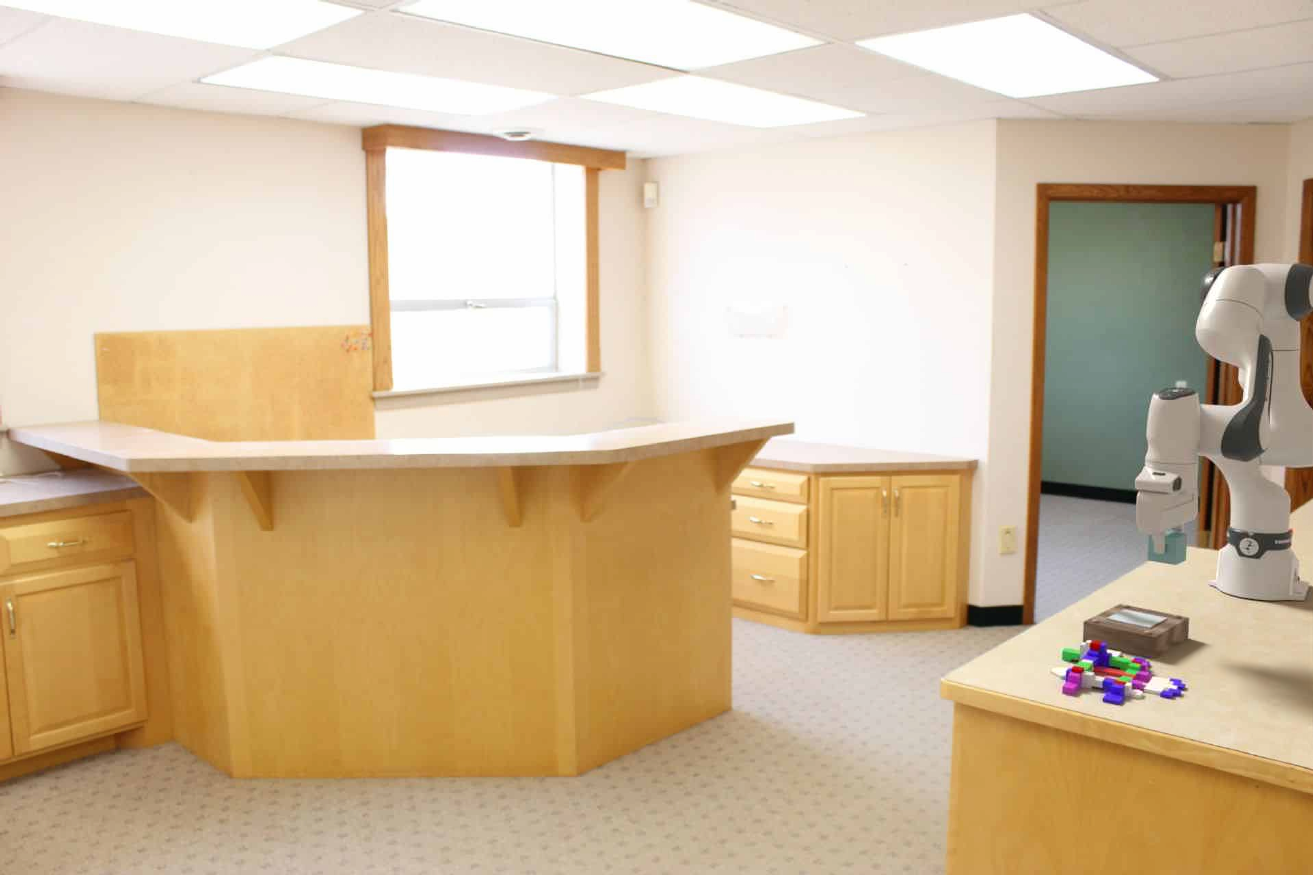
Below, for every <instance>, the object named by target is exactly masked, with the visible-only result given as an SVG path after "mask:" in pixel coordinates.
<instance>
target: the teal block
mask: <svg viewBox="0 0 1313 875" xmlns="http://www.w3.org/2000/svg"><path fill="white" fill-rule="evenodd" d="M1147 541H1148V542H1147V561H1148V562H1154V563H1155V562H1156V563H1161V564H1166V565H1167V564H1168V565H1172V566H1177V565H1180V564H1181V563H1183V562H1186V561H1187V547H1188V533H1177V532H1170V530H1167V531H1166V536H1165V543H1166V544H1167V551H1166V552H1165V553H1163V554H1158V553H1155V552H1154V542H1153V539H1152V536H1151V534H1150V533H1148V539H1147Z"/></svg>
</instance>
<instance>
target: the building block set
mask: <svg viewBox="0 0 1313 875" xmlns="http://www.w3.org/2000/svg"><path fill="white" fill-rule="evenodd" d="M1061 652H1062V654H1061V655H1062V656H1061V660H1062V661H1067V662H1071V661H1073V660H1076V661H1078V662H1077V663H1076V665H1073V666H1072V667H1053V668H1051V670H1050V674H1051V675H1052V676H1054V677H1056V678H1058V679H1059V680H1064V679H1065V683H1064V684H1063V685H1062V690H1061V691H1062V692H1061V693H1062V694H1065V695H1070V696H1074V695H1075V694H1076V693H1077V692H1078V691H1079V690H1080V689H1081V688H1087V689H1092V688H1093V687H1095V688H1100V689H1102V691H1103V692H1106V693H1105V695H1104V696H1103V697H1102V698H1101V699H1102V700H1101V701H1102V703H1107V704H1111V705H1117V706H1120V705H1121V704H1122V703H1123V702H1124V701H1125V699H1126V696H1127V697H1130V698H1133V699H1141V698H1143V696H1144V693H1148V694H1152V695H1153V694H1154V695H1158V696H1159V697H1160V698H1165V699H1170V700H1172V699H1173V697H1178V698H1179V697H1180V696H1181V695H1182V691H1184V690H1185V689H1186V684H1185V683H1183V680H1182V679H1178V678H1172V677H1171V678H1170V679H1169V678H1164V677H1159V676H1154V675H1150V672H1149V666H1150V665H1151V664H1150V661H1148V660H1146V659H1145V658H1143V657H1138V656H1137V657H1136V656H1135V657H1134V658H1132V659H1131V658H1130V659H1129V658H1126V657H1121V656H1122V651H1119V650H1114V649H1108V648H1107V643H1102V642H1097V641H1091V640H1087V641H1086V642H1083V641H1082V642H1081V643H1080V644H1079V649H1074V648H1069V647H1068V648H1064V649H1062V651H1061ZM1111 667H1116V668H1119V669H1116V668H1111ZM1095 673H1096V674H1095ZM1098 674H1100V675H1098ZM1103 675H1106V676H1103ZM1108 676H1109V677H1108ZM1110 676H1111V677H1110ZM1113 677H1116V678H1113ZM1143 682H1144V683H1146V684H1143Z"/></svg>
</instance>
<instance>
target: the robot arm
mask: <svg viewBox="0 0 1313 875" xmlns="http://www.w3.org/2000/svg"><path fill="white" fill-rule="evenodd" d="M1199 285H1200V286H1199V292H1198V294H1199V303H1200V306H1201V308H1200V312H1199V315H1198V317H1197V321H1196V323H1195V324H1196V326H1195V337H1196V340H1197V342H1198V344H1199V346H1200V347H1201V348H1202V349H1203V351H1205V352H1206V353H1207V354H1208V355H1209V356H1211V357H1213V358H1214V359H1216V360H1218V361H1221V362H1224V363H1227V364H1229V365H1232V366H1235V367H1237V368H1238V379H1237V380H1238V383H1239V386H1240V387H1241V389H1242V390H1243V395H1242V401H1241V402H1239V403H1237V404H1235V405H1222V404H1221V405H1219V404H1216V405H1215V404H1206V403H1200V397H1199V392H1198V391H1197V390H1195V389H1193V388H1189V387H1185V386H1184V387H1181V386H1178V387H1177V386H1175V387H1164V388H1162V389H1161V388H1160V389H1159V390H1156V391H1155V392H1153V395H1152V396H1151V400H1150V404H1149V408H1148V415H1147V422H1146V423H1147V424H1146V432H1145V433H1146V434H1145V435H1146V441H1147V452H1146V454H1145V457H1144V466H1143V467H1142V468H1143V469H1142V471H1141V472H1140V473H1139V474H1138V476H1136V477H1135V481H1134V488H1135V490H1138V492H1137V495H1136V507H1135V508H1136V513H1135V514H1136V516H1135V517H1136V526H1137V529H1138V531H1139V533H1145V534H1151V536H1152V539H1153V542H1154V552H1155V553H1158V554H1163V553H1165V552H1166V551H1167V544H1166V543H1165V536H1166V531H1170V532H1177V533H1183V532H1184V528H1185V524H1187V523H1190V522H1193V521H1194V520H1196V519H1197V516H1198V513H1199V489H1198V477H1199V457H1202V456H1203V457H1206V458H1207V459H1209V460H1210V461H1211V462H1213V464H1215V466H1216V467H1217V468H1218V469H1219V471H1220V472H1221V473H1222V475H1223V476H1224V479H1225V480H1226V483H1227V487H1228V489H1229V495H1230V497H1229V498H1230V521H1229V523H1230V524H1229V525H1228V526H1227V531H1226V542H1227V544H1226V545H1225V546H1223V547H1222V548H1220V549H1219V552H1218V559H1217V567H1216V575H1215V576H1216V577H1213V578H1210V579H1209V581H1208V585H1210V586H1212V587H1215V588H1217V589H1218V591H1219V590H1220V592H1223V593H1224V594H1227V595H1231V596H1235V597H1238V598H1239V597H1240V598H1243V599H1244V598H1246V599H1250V600H1252V599H1253V600H1263V601H1305V600H1306V597H1307V594H1308V591H1309V589H1310V586H1311V585H1310V581H1309V580H1306V579H1304V578H1300V576H1299V572H1300V571H1299V569H1300V560H1299V559H1298V557H1297V555H1296V554H1295V553H1294V551H1293V550H1292V548H1291V547H1292V546H1293V545H1292V540H1293V535H1294V534H1293V533H1294V532H1293V531H1294V530H1293V528H1292V527H1290V520H1291V518H1290V517H1291V503H1292V500H1291V496H1290V494H1289V492H1288V491H1287V490H1286V489H1285V488H1284V487H1283V486H1281V485H1280V484H1278V483H1276V482H1274V481H1273V480H1271V479H1268V478H1267V477H1266V476H1265V475H1264V474H1263V473H1262V471H1261V466H1271V467H1282V468H1283V467H1284V468H1285V467H1286V468H1296V469H1298V468H1308V467H1309V468H1311V467H1313V408H1312V407H1311V406H1310V404H1309V403H1308V402H1307V400H1306V398H1305V396H1304V394H1303V390H1302V386H1301V377H1300V376H1301V375H1300V374H1301V373H1300V364H1301V363H1300V362H1301V359H1300V358H1301V339H1302V337H1301V324H1300V323H1301V322H1300V321H1302V320H1303V318H1304V317H1306V316H1308V315H1310V314H1311V313H1312V312H1313V265H1310V264H1305V263H1298V262H1295V263H1292V264H1288V263H1275V262H1274V263H1273V262H1272V263H1271V262H1266V263H1265V262H1264V263H1263V262H1262V263H1261V262H1259V263H1258V264H1246V265H1245V264H1237V265H1232V266H1228V265H1227V266H1226V265H1225V266H1221V267H1216V268H1213V269H1211V270H1209V271H1208V272H1207V273H1206V274H1205V275H1204V276H1203V277H1202V279H1201V282H1200V284H1199Z"/></svg>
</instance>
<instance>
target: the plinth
mask: <svg viewBox="0 0 1313 875" xmlns="http://www.w3.org/2000/svg"><path fill="white" fill-rule="evenodd" d="M1082 628H1083V630H1082V632H1083V633H1082V642H1086V641H1087V640H1091V641H1097V642H1102V643H1107V649H1109V650H1114V651H1119V652H1124V653H1128V654H1131V655H1137V656H1141V657H1146V658H1150V659H1155V658H1157V657H1159V656H1161V655H1162V654H1164V653H1166V652H1167V651H1169V650H1170V649H1172V648H1174V647H1176V646H1177V645H1179V644H1181V643H1182V642H1184V641H1185V640H1187V639H1188V638H1189V630H1190V617H1188V616H1183V615H1180V614H1174V613H1173V614H1172V613H1169V612H1163V611H1157V610H1153V609H1148V608H1142V607H1138V606H1133V605H1132V606H1131V605H1129V604H1123V603H1119V604H1117V605H1115V606H1113V607H1111V608H1109V609H1106V610H1105V611H1102V612H1100V613H1098V614H1096V615H1094V616H1092V617H1090V618H1088V619H1086V620H1084V621H1083V626H1082ZM1168 649H1169V650H1168Z"/></svg>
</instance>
